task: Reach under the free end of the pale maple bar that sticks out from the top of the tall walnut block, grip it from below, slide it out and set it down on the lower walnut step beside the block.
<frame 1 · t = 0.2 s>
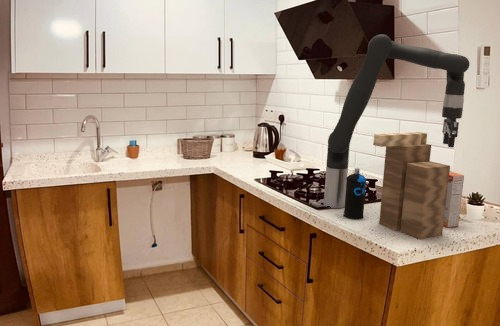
hand: (448, 145, 195), 30 cm above the countertop, tool pointing down, fingers open, 8 cm apart
cracker box: (439, 222, 190), on the countertop
maple bar: (400, 144, 176), point 32 cm above the countertop, touching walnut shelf
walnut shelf: (400, 225, 184), on the countertop
aerosol can: (353, 217, 194), on the countertop
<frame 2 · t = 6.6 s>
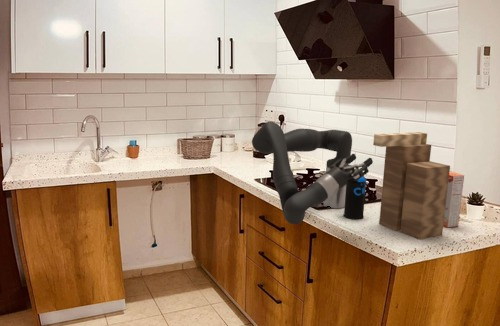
hand: (363, 157, 168), 28 cm above the countertop, tool pointing upward, fingers open, 8 cm apart
nothing on the countertop moved.
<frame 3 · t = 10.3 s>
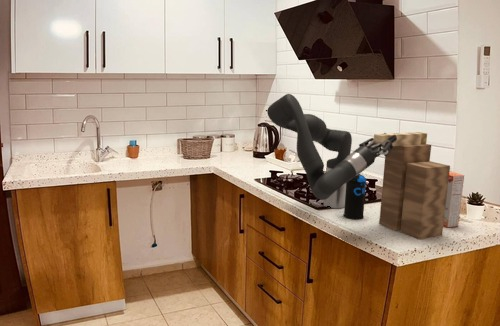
hand: (390, 136, 173), 35 cm above the countertop, tool pointing upward, fingers closed on maple bar, 4 cm apart
maple bar: (400, 144, 176), point 32 cm above the countertop, touching gripper, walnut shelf
everything else where it was.
when the fingers open (31 cm above the countertop, at t = 17.5 s): maple bar drops 1 cm, resting on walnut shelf.
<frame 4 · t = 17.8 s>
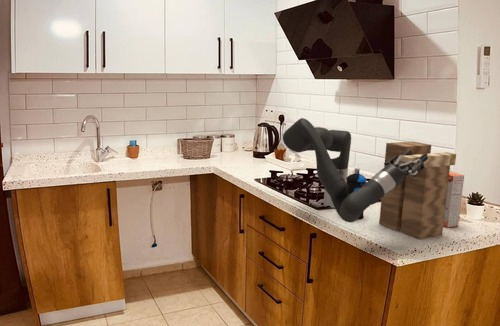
hand: (418, 153, 164), 31 cm above the countertop, tool pointing upward, fingers open, 6 cm apart
maple bar: (428, 166, 168), point 26 cm above the countertop, touching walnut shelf
everything else where it was.
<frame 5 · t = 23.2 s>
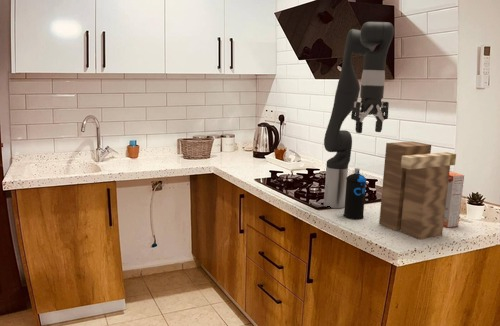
hand: (368, 132, 161), 38 cm above the countertop, tool pointing down, fingers open, 8 cm apart
nothing on the countertop moved.
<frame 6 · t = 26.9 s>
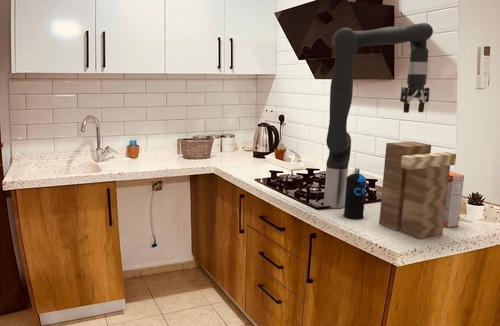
hand: (413, 112, 200), 42 cm above the countertop, tool pointing down, fingers open, 8 cm apart
nothing on the countertop moved.
at the end: maple bar inside the target area (0.1 cm from its centre), point 26.0 cm above the countertop; the gripper is holding nothing; maple bar point 26.0 cm above the countertop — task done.
